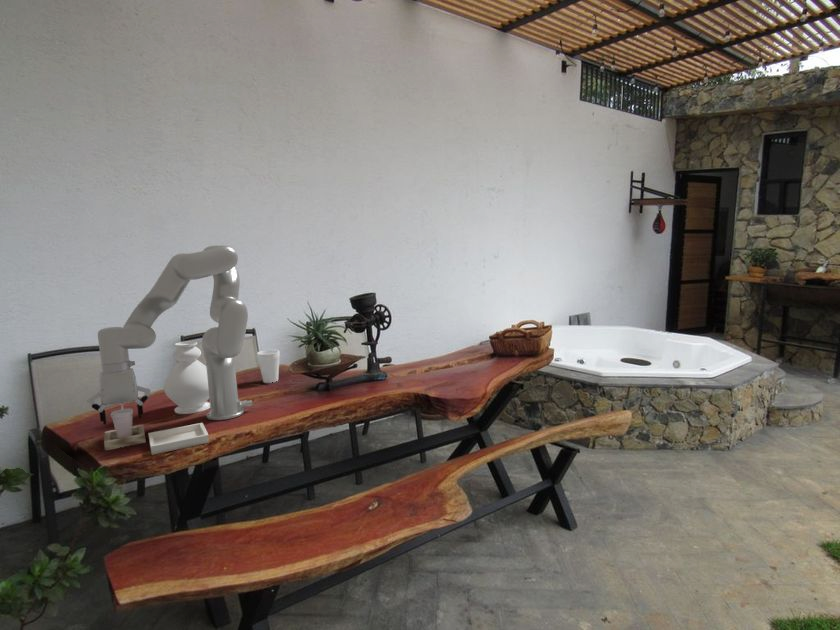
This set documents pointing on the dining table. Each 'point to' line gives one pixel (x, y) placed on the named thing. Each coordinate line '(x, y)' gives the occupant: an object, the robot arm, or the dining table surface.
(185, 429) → the tray
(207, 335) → the robot arm
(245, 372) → the dining table surface
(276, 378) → the foam cup
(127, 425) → the smoothie
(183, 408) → the decorative vase
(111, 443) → the frame
